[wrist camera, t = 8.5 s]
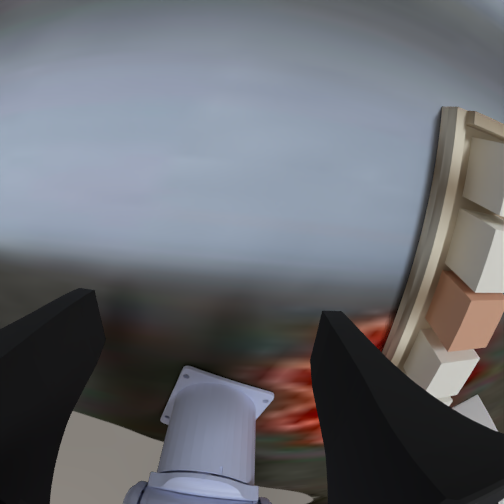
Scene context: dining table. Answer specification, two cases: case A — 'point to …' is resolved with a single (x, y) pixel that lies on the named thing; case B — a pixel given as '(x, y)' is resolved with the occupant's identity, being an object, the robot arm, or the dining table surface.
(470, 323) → the block terracotta
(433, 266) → the rack
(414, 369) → the cream block
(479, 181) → the cream block
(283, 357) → the dining table surface
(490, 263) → the cream block
